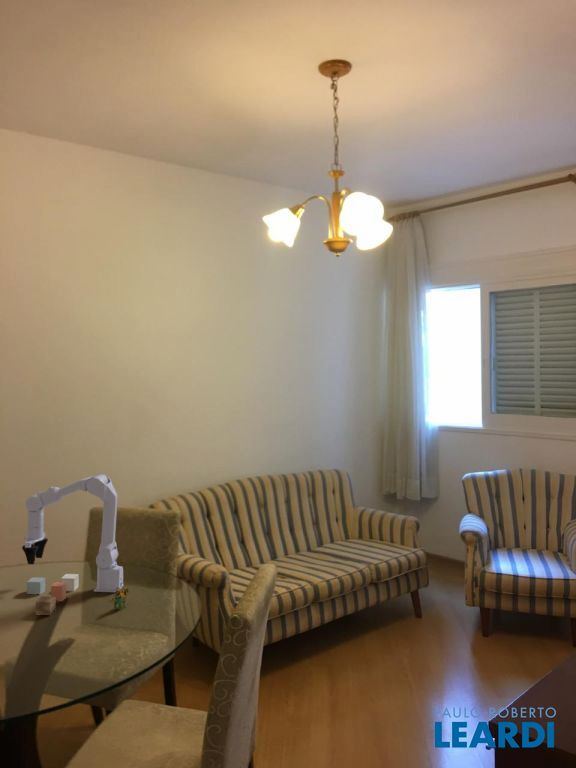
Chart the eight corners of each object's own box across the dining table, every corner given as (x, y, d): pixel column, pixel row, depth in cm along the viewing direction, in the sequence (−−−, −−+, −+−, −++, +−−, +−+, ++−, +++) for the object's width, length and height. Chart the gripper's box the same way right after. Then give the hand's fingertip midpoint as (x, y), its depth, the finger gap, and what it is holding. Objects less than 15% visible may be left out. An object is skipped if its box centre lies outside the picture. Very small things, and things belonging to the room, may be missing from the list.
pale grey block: (78, 586, 249) (78, 574, 249) (74, 591, 244) (74, 578, 244) (65, 586, 250) (65, 573, 249) (61, 591, 245) (61, 578, 244)
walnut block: (55, 610, 225) (55, 596, 225) (50, 616, 220) (50, 602, 220) (41, 610, 226) (41, 596, 225) (35, 616, 221) (35, 601, 220)
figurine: (132, 604, 233) (132, 582, 232) (111, 616, 222) (111, 593, 221) (124, 603, 234) (125, 581, 234) (104, 615, 223) (104, 591, 222)
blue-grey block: (45, 590, 245) (45, 577, 244) (40, 595, 240) (40, 582, 239) (32, 590, 245) (32, 577, 244) (26, 595, 240) (26, 581, 239)
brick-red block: (65, 598, 237) (66, 582, 237) (61, 602, 233) (62, 586, 233) (54, 598, 237) (55, 582, 237) (50, 602, 233) (51, 585, 233)
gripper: (32, 521, 255) (32, 554, 255) (17, 530, 240) (16, 566, 241) (50, 521, 254) (50, 555, 255) (35, 531, 240) (35, 567, 240)
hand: (35, 560), depth 248 cm, fingers open, 7 cm apart
